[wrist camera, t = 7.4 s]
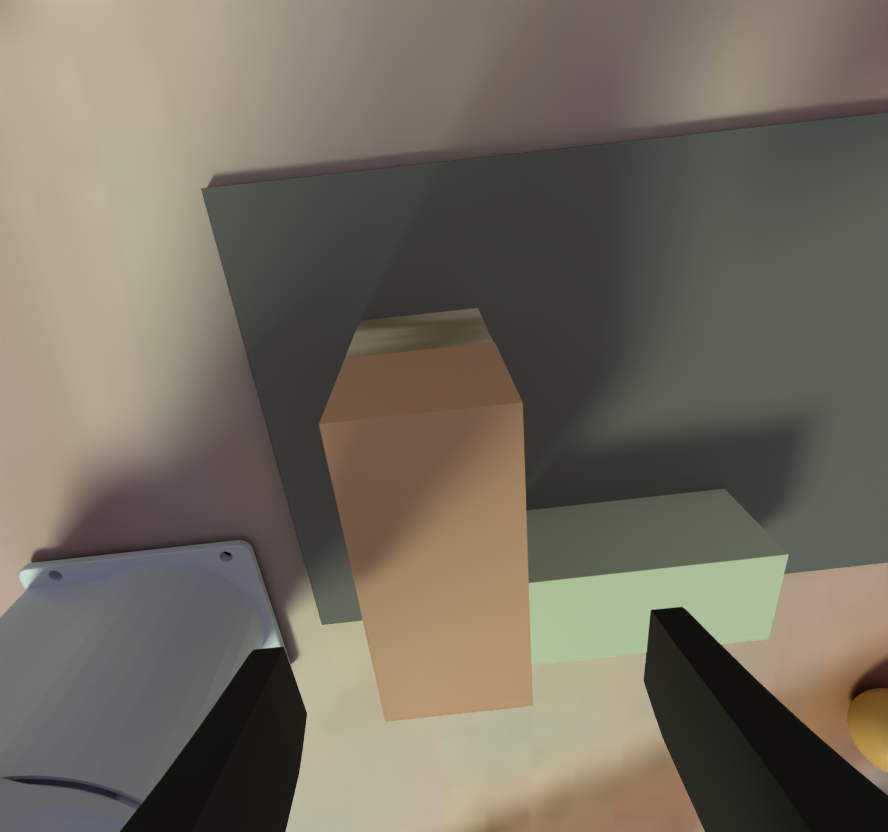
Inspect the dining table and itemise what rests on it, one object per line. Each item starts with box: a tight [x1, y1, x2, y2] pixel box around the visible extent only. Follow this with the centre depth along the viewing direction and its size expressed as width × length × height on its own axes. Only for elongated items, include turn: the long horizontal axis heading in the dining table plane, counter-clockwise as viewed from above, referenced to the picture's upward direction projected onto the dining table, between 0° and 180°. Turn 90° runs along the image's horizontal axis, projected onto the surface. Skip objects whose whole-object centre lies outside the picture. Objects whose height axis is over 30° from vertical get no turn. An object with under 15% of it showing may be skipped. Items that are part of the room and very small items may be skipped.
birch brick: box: [344, 308, 493, 360], centre depth 17 cm, size 4×9×4 cm, turn 6°
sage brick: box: [526, 489, 789, 665], centre depth 20 cm, size 9×4×4 cm, turn 96°
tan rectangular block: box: [319, 342, 533, 721], centre depth 14 cm, size 4×9×4 cm, turn 5°
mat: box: [201, 113, 888, 625], centre depth 19 cm, size 26×18×1 cm
